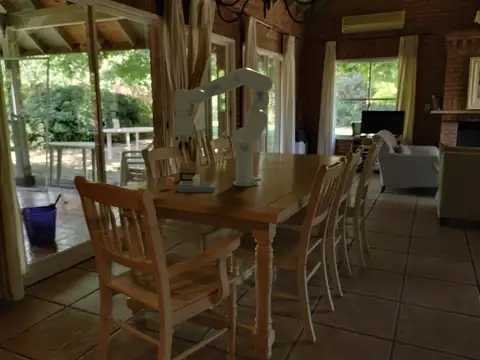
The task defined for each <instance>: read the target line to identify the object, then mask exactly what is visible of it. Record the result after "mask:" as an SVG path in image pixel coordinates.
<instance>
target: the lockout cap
mask: <svg viewBox="0 0 480 360" xmlns="http://www.w3.org/2000/svg"><path fill="white" fill-rule="evenodd" d="M165 190H168V191H172V190H173V191H174V190H175V177H173V176H169V177H167V176H166V177H165Z"/></svg>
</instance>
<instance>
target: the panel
mask: <svg viewBox="0 0 480 360" xmlns="http://www.w3.org/2000/svg"><path fill="white" fill-rule="evenodd" d="M217 187H218V185H217V182H212V181H200V183H199V186H193V181H179V183H178V186H177V193H215V192H216V190H217Z"/></svg>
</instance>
